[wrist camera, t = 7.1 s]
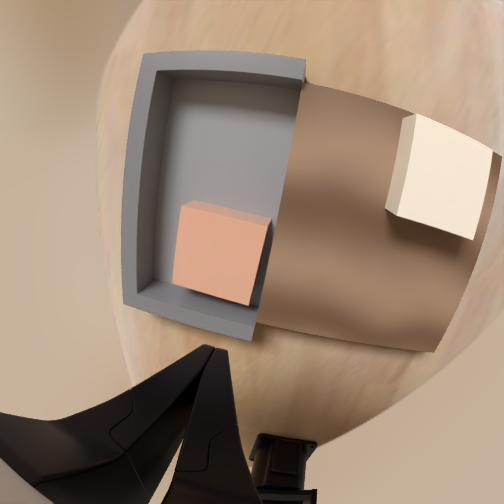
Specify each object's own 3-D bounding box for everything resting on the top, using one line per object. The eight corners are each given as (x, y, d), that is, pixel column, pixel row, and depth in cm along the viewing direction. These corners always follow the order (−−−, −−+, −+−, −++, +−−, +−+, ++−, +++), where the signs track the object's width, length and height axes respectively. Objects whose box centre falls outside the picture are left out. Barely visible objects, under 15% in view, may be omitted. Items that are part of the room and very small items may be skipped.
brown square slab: (423, 333, 18) (433, 352, 16) (261, 302, 19) (255, 322, 17) (481, 154, 13) (502, 156, 11) (302, 92, 14) (302, 82, 12)
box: (258, 316, 20) (251, 341, 17) (143, 285, 21) (123, 303, 18) (305, 75, 14) (305, 59, 11) (165, 65, 15) (143, 53, 12)
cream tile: (456, 230, 13) (472, 240, 11) (384, 207, 13) (396, 215, 12) (473, 149, 11) (492, 150, 9) (402, 118, 12) (416, 113, 10)
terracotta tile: (253, 290, 19) (248, 305, 17) (183, 270, 19) (172, 283, 17) (271, 218, 17) (267, 226, 15) (193, 200, 17) (181, 205, 15)
